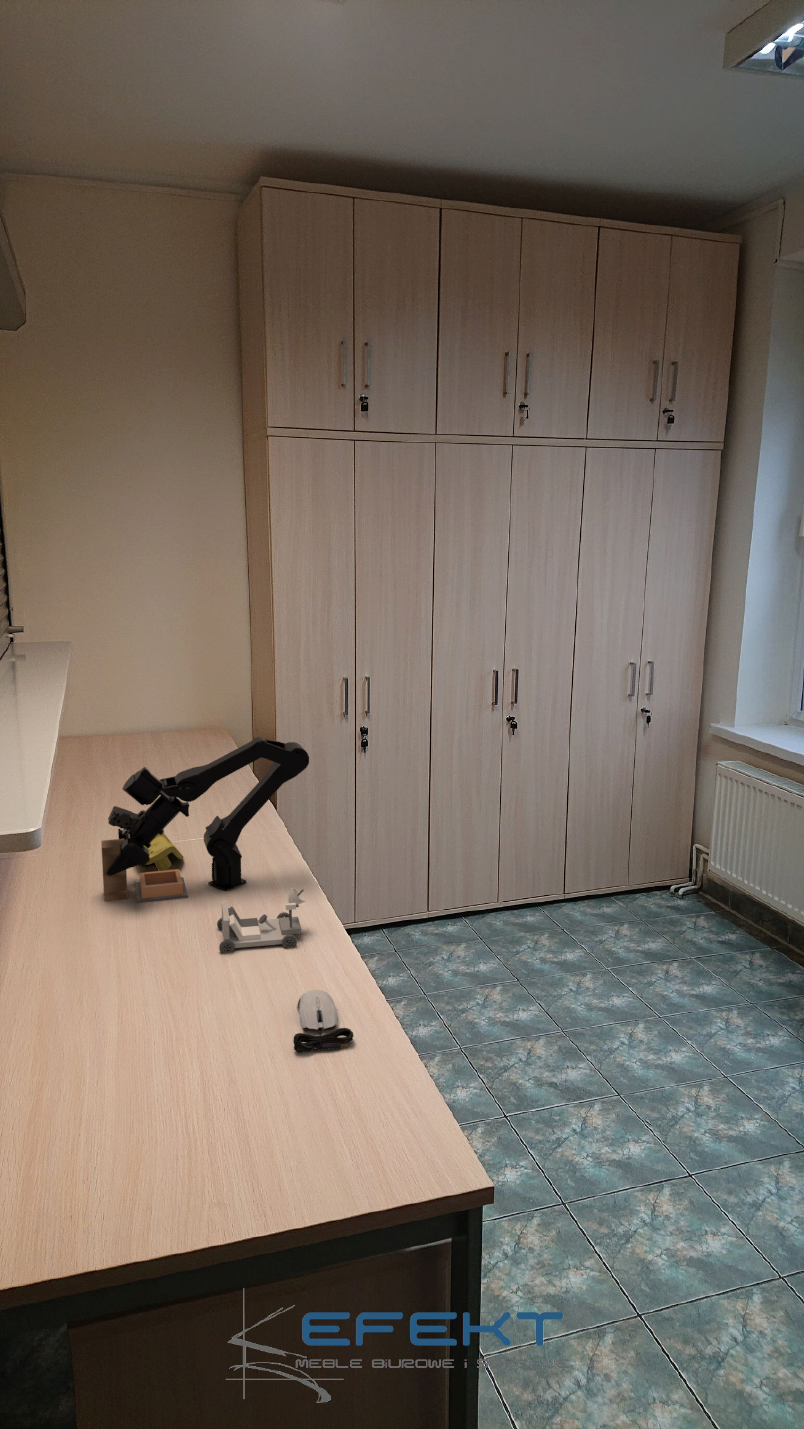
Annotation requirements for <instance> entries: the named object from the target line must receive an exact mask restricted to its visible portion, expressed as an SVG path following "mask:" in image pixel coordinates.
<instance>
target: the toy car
mask: <svg viewBox="0 0 804 1429" xmlns="http://www.w3.org/2000/svg"><path fill="white" fill-rule="evenodd" d="M304 891H305V890H304V888H303V889H301V890H300V891H298V890H297V889H296V888H294V887H291V889H290V891H289V894H288V898H287V900H288V903H285V910H286V911H288V912H284V911H282V912H280V913H279V914H278V915H277V917H276V918H268V915H267V914H262V915H261V916H260V917H259V919H258V917H251V918H250V917H249V918H240V917H239V915H238V913H237V912H236V910H235V908H234V906H230V907H229V908H228V903H227V899H224V900H221V917H220V918H219V919H218V921H217V922H216V927H217V930H219V931H222V939H223V940H222V941H220V944H219V948H218V949H219V952H220V953H221V954H232V953H234V952H235V949H240V948H250V947H251V948H252V947H263V946H264V947H265V946H275V945H282V947H283V948H284V949H288V948H289V949H291V948H295V947H296V946H297V945H298V939H297V937H296V936H295V935H296V934H297V935H299V934H302V926H301V923H300V919H299V916H293V915H292V914H293V913H292V912H293V911H292V910H297V908H300V906H299V905H301V904H303V903H305V902H306V899H305V897H304V896H303V895H302V893H303V892H304Z"/></svg>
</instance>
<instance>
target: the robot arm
mask: <svg viewBox="0 0 804 1429" xmlns="http://www.w3.org/2000/svg"><path fill="white" fill-rule="evenodd" d="M259 759H265V760H268V761H271V762H272V764H271V766H270V769H268V771H267V773H265V775H264V776H263V777H262V778H261V779H260V780H259V781H258V783H257V784H256V785H255V786H254V787H253V788H252V789H251V790H249V792H248V794H246V795H245V797H244V798H243V799H242V800H241V801H240V802H239V804H238V805H237V806H236V807H235V808H234V809H233V810H232V811H231V812H230V813H229V814H228V815H226V816H225V817H223V818H221V817H220V816H219V815H216V816H215V817H214V819H213V820H212V822H211V823H210V824H208V825H207V826H205V832H204V834H203V842H204V846H205V848H206V850H207V853H208V854H209V855H210V856H211V857H212V858H211V860H212V861H211V879H212V880H210V881H208V882H207V884H208V885H209V886H211V887H215V888H218V889H220V890H223V891H227V892H228V891H230V890H232V889H235V888H237V887H239V886H242V885H245V884H247V880H246V879H244V878H242V857H243V856H242V855H243V854H242V853H241V852H240V850H239V847H238V844H237V842H238V840H239V838H240V835H241V833H242V831H243V829H244V828H245V826H247V824H249V822H250V821H251V820H252V819H253V818H254V817H255V815H256V814H257V813H258V812H259V811H260V810H261V809H262V808H263V807H264V806H265V805H266V804H267V802H268V801H269V800H270V799H272V797H273V795H274V794H275V793H276V792H277V791H278V790H279V789H280V788H281V787H282V786H283V784H285V783H286V782H288V781H291V780H292V779H294V778H296V777H298V776H299V775H300V774H301V773H302V772H303V771H305V770H306V769H307V768H308V766H309V764H310V756H309V754H308V752H307V751H306V750H305V749H304V747H303V746H302V745H301V744H299V743H297V742H295V741H291V742H290V741H289V742H281V741H278V740H272V739H267V738H263V737H261V736H256V737H254V738H252V740H251V741H249V742H247V743H245V744H244V745H242V746H239V747H238V748H236V749H234V750H232V751H230V752H229V753H226V754H224V755H222V756H220V757H219V758H217V759H215V760H213V761H211V762H209V763H207V764H205V765H200V766H193V767H191V768H188V769H185V770H182V771H180V772H178V773H177V774H176V775H174V776H170V777H165V778H160V779H159V778H157V776H155V775H154V774H153V773H151V772H150V770H149V769H148V768H147V767H146V766H143V767H142V768H141V769H140V770H138V771H137V772H134V774H132V775H131V776H130V777H129V778H128V779H127V780H126V781H125V782H124V784H123V787H122V790H123V792H125V793H126V794H127V795H128V796H130V797H131V798H132V799H134V800H135V801H136V802H137V803H138V804H140V805H141V806H148V808H147V809H146V810H144V809H143V810H142V809H141V810H140V811H139V812H138V813H135V812H133V811H130V810H127V809H125V808H122V807H120V806H116V805H113V807H112V809H111V812H110V814H109V816H108V819H107V820H108V824H109V825H110V826H112V827H118V830H117V831H118V832H117V833H118V835H117V836H118V837H117V838H118V839H125V841H124V842H123V844H122V845H121V844H120V854H119V855H118V857H117V858H116V860H115V861H114V862H113V864H112V865H111V867H110V868H109V870H108V871H107V874H108V875H109V876H112V875H114V874H116V873H119V872H121V871H124V870H126V871H127V870H128V869H132V868H134V867H137V866H142V867H143V868H144V867H145V866H146V864H147V863H148V862H149V861H150V858H149V850H148V849H147V848H149V847H150V846H151V842H152V841H153V840H154V839H155V837H156V836H157V835H158V834H160V835H162V834H163V833H164V834H165V830H164V829H165V828H167V826H168V825H169V824H170V823H171V822H172V821H173V820H174V819H175V818H176V817H177V816H178V815H179V814H180V813H181V814H182V815H183V816H185V817H186V818H189V816H190V813H189V812H190V811H189V810H190V809H189V808H190V802H194V801H195V800H198V798H200V797H201V796H202V795H204V794H205V793H206V792H207V791H209V789H211V787H212V786H213V785H214V784H216V783H217V782H218V781H220V780H222V779H224V778H226V777H227V776H230V775H232V774H233V773H235V772H236V771H239V770H241V769H242V768H244V767H246V766H248V765H251V763H254V762H255V761H257V760H259ZM143 845H144V846H145V847H144V846H143Z"/></svg>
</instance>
